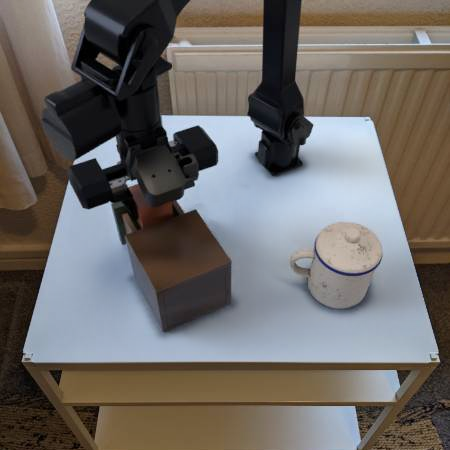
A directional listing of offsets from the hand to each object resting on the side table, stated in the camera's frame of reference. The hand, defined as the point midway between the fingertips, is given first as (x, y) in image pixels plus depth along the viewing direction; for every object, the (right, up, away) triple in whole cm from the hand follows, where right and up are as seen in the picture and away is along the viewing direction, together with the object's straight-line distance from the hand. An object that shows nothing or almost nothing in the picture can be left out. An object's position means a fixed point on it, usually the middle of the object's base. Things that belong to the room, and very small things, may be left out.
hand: (151, 212), depth 71 cm
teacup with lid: (+25, -10, +3) cm, 28 cm away
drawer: (-1, -3, +7) cm, 8 cm away
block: (0, -1, +1) cm, 1 cm away
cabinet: (+4, -11, +3) cm, 12 cm away
